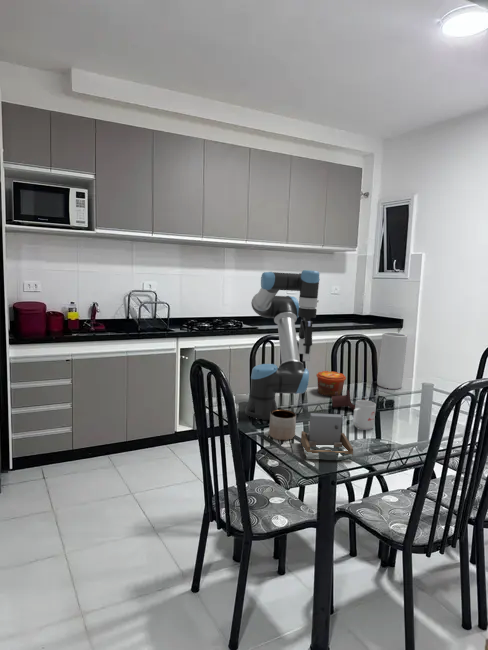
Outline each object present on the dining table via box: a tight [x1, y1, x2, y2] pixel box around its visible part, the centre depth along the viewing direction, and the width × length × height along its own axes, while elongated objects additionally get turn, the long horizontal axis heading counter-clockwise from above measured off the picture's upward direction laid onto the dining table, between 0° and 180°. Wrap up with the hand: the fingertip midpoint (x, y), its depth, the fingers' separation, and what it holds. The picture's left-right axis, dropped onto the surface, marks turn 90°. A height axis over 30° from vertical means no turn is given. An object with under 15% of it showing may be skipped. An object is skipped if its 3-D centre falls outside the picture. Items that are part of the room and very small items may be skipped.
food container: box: [316, 370, 347, 398], centre depth 252 cm, size 16×16×11 cm
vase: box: [376, 331, 408, 390], centre depth 271 cm, size 14×14×32 cm
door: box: [308, 412, 343, 445], centre depth 179 cm, size 12×4×12 cm, turn 91°
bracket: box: [331, 389, 366, 411], centre depth 228 cm, size 6×17×10 cm, turn 81°
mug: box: [352, 399, 377, 431], centre depth 203 cm, size 12×9×11 cm
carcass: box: [300, 430, 354, 455], centre depth 177 cm, size 17×15×5 cm
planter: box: [268, 408, 297, 441], centre depth 190 cm, size 11×11×10 cm
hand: (303, 357), depth 194 cm, fingers open, 13 cm apart
